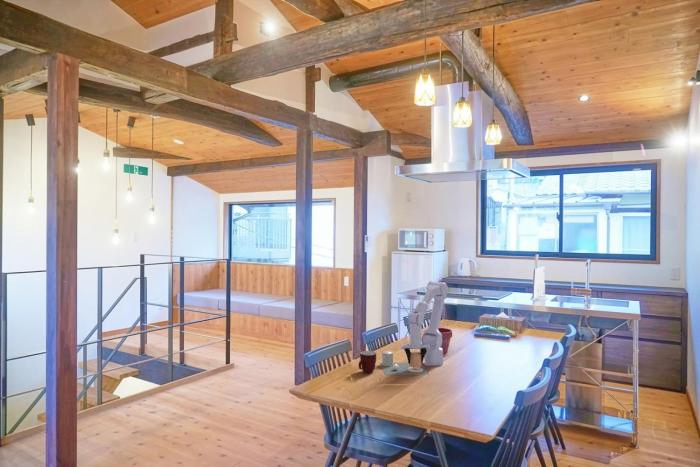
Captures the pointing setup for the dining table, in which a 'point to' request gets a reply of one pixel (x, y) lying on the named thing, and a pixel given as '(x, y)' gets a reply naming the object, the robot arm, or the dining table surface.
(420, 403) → the dining table surface
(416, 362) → the tan piece
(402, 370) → the mat
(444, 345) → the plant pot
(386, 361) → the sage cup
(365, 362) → the mug
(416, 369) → the pad
